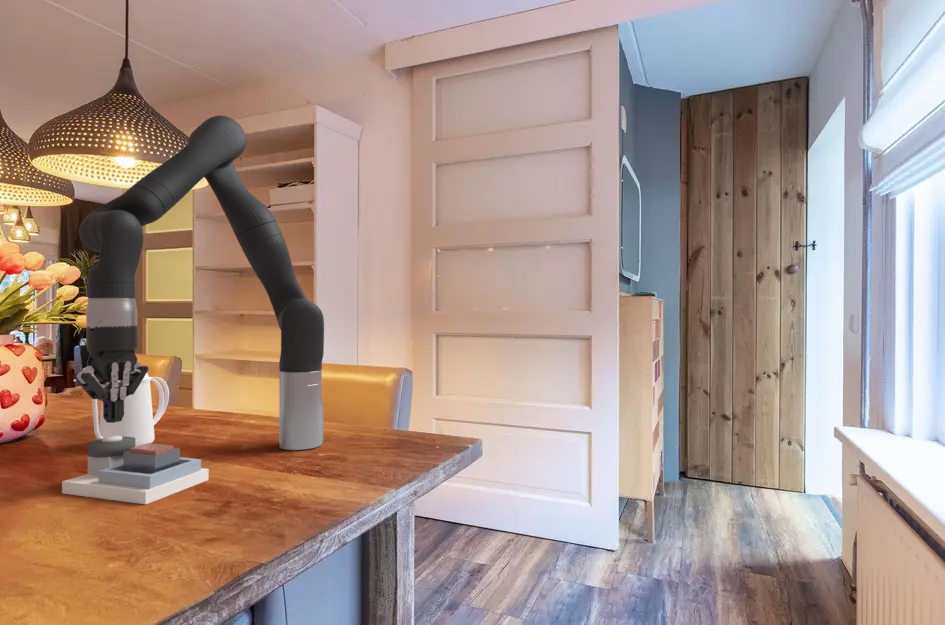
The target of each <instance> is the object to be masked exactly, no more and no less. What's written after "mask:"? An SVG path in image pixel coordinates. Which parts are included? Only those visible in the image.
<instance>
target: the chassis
mask: <svg viewBox="0 0 945 625" xmlns="http://www.w3.org/2000/svg"><path fill="white" fill-rule="evenodd" d="M209 470H210V469H209V468H203V467H202V459H198V458H190V457H181V456H180V465H177V466H174V467H171V468H168V469H165V470H162V471H159V472H156V473H153V474H144V473H135V472H126V471H123V455H120V456H113V457H102V458H95V457H89V456H88V455H87V473H86V474H83V475H80V476H76V477H72V478H70V479H65V480H63V481H61V494H66V495H72V496H80V497H86V498H95V499H101V500H110V501H115V502H116V501H117V502H125V503H132V504H140V505H147V504H151V503H154V502H156V501H158V500H161V499H163V498H166V497H168V496H171V495H173V494H176V493H178V492H181V491H184V490H186V489H189V488H192V487H195V486H197V485H199V484H201V483H204V482H207V481H209V475H210V473H209Z"/></svg>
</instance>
